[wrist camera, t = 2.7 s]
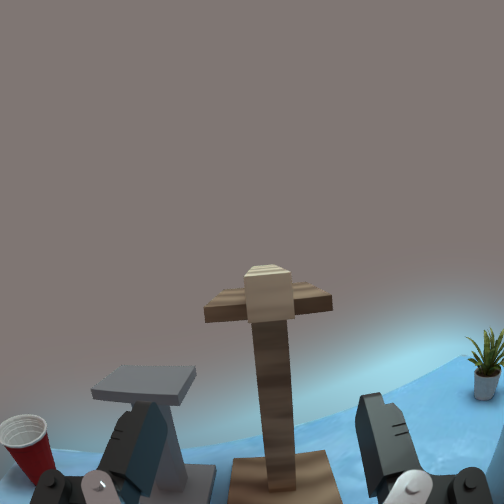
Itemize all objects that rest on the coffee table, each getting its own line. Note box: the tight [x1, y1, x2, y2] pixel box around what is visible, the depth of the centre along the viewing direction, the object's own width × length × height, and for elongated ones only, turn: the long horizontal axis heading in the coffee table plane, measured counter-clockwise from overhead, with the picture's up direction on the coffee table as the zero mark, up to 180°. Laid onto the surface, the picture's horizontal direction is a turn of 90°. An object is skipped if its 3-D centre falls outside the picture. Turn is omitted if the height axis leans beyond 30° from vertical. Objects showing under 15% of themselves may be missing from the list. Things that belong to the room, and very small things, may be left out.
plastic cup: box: [0, 414, 56, 486], centre depth 30 cm, size 11×11×12 cm
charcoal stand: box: [91, 365, 217, 504], centre depth 35 cm, size 12×12×22 cm
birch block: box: [244, 265, 295, 323], centre depth 31 cm, size 24×3×3 cm, turn 178°
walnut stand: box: [204, 282, 343, 504], centre depth 35 cm, size 16×16×32 cm
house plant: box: [467, 328, 504, 401], centre depth 44 cm, size 14×14×16 cm
